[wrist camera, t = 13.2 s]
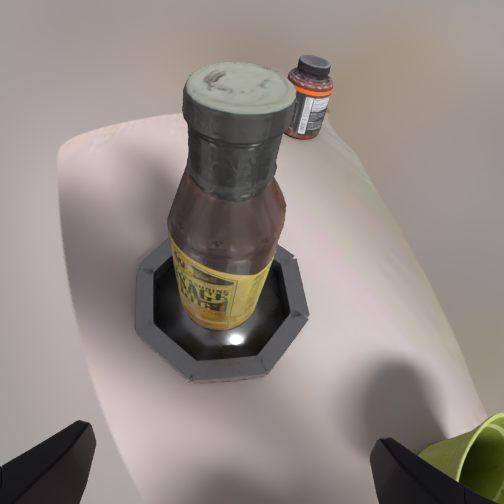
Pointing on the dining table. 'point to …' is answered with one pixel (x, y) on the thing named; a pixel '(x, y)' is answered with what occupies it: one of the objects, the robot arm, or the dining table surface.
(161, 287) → the dark grey octagonal tray
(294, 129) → the supplement bottle
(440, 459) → the plant pot
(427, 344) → the dining table surface
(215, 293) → the sauce bottle
